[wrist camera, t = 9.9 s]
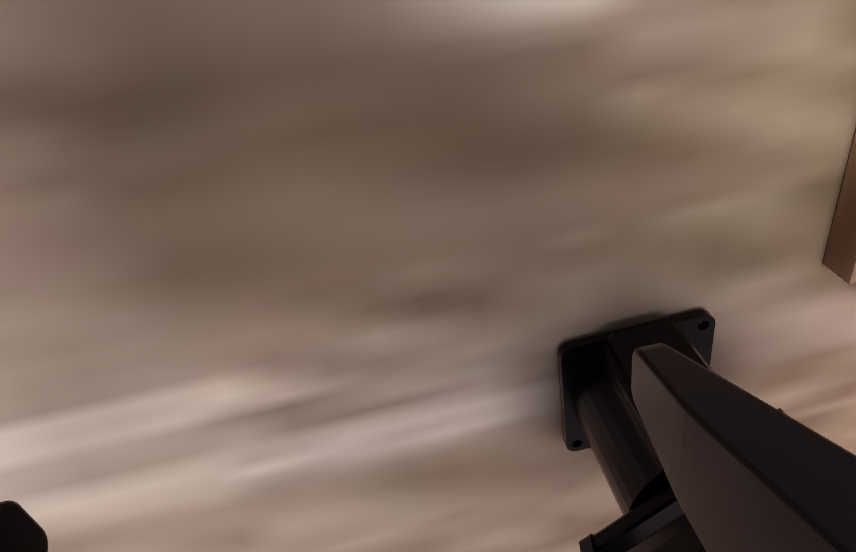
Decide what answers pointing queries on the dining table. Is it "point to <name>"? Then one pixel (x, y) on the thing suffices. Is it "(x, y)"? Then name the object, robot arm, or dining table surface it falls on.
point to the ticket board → (844, 227)
